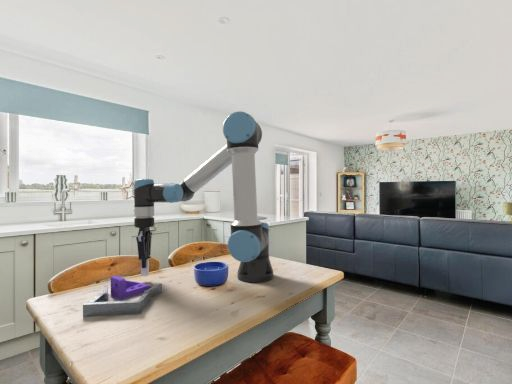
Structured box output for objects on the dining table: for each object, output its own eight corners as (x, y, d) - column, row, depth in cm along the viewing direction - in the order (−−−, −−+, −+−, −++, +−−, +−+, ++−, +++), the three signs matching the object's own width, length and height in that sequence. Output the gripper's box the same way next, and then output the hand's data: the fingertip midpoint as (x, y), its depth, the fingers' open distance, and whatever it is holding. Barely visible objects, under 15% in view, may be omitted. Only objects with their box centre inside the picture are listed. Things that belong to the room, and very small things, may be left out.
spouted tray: (162, 291, 101) (162, 281, 101) (147, 313, 82) (147, 301, 82) (104, 293, 99) (104, 284, 99) (75, 317, 80) (75, 305, 80)
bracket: (120, 301, 93) (120, 280, 93) (110, 296, 97) (110, 276, 97) (152, 290, 103) (152, 272, 103) (142, 287, 107) (142, 269, 107)
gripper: (140, 215, 119) (140, 271, 119) (128, 218, 106) (129, 280, 106) (158, 215, 120) (158, 270, 120) (149, 218, 107) (149, 279, 107)
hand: (145, 275), depth 113 cm, fingers closed
